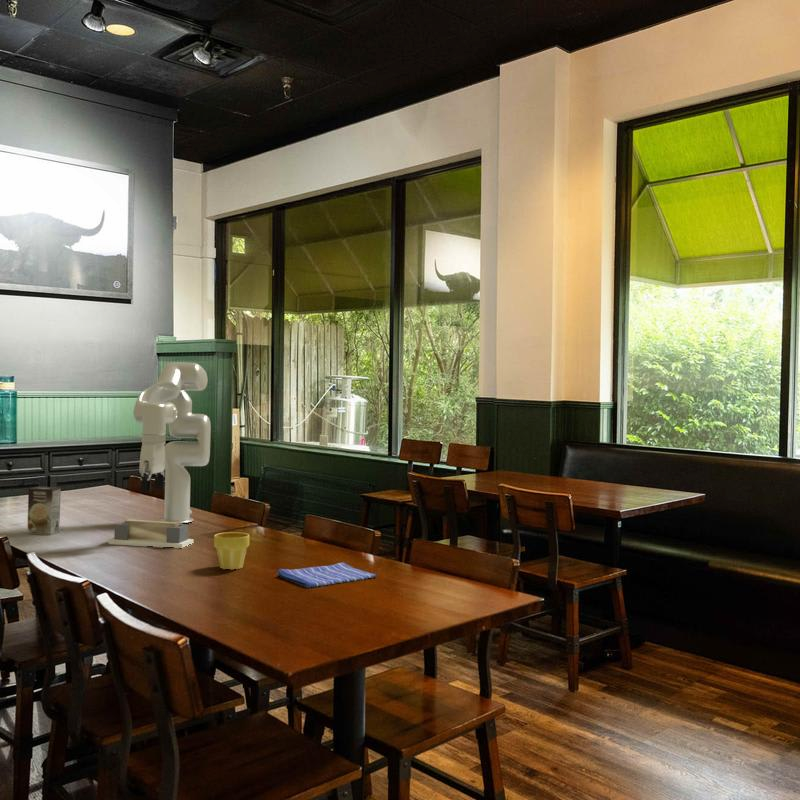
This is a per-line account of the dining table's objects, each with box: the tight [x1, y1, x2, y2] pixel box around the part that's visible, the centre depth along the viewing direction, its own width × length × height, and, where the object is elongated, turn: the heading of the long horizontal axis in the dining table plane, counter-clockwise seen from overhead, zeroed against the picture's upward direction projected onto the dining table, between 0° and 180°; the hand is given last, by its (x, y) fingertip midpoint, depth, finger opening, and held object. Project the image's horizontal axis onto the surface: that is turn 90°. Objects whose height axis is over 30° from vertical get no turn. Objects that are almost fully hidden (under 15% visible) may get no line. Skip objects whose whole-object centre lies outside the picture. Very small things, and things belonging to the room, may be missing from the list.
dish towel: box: [276, 561, 377, 589], centre depth 231 cm, size 17×24×3 cm
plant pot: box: [213, 531, 250, 571], centre depth 239 cm, size 10×10×10 cm
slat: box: [124, 519, 179, 541], centre depth 271 cm, size 2×18×6 cm, turn 81°
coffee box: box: [26, 485, 62, 536], centre depth 284 cm, size 9×6×16 cm
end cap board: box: [108, 520, 194, 549], centre depth 271 cm, size 9×26×6 cm, turn 81°
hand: (152, 490), depth 271 cm, fingers open, 9 cm apart
